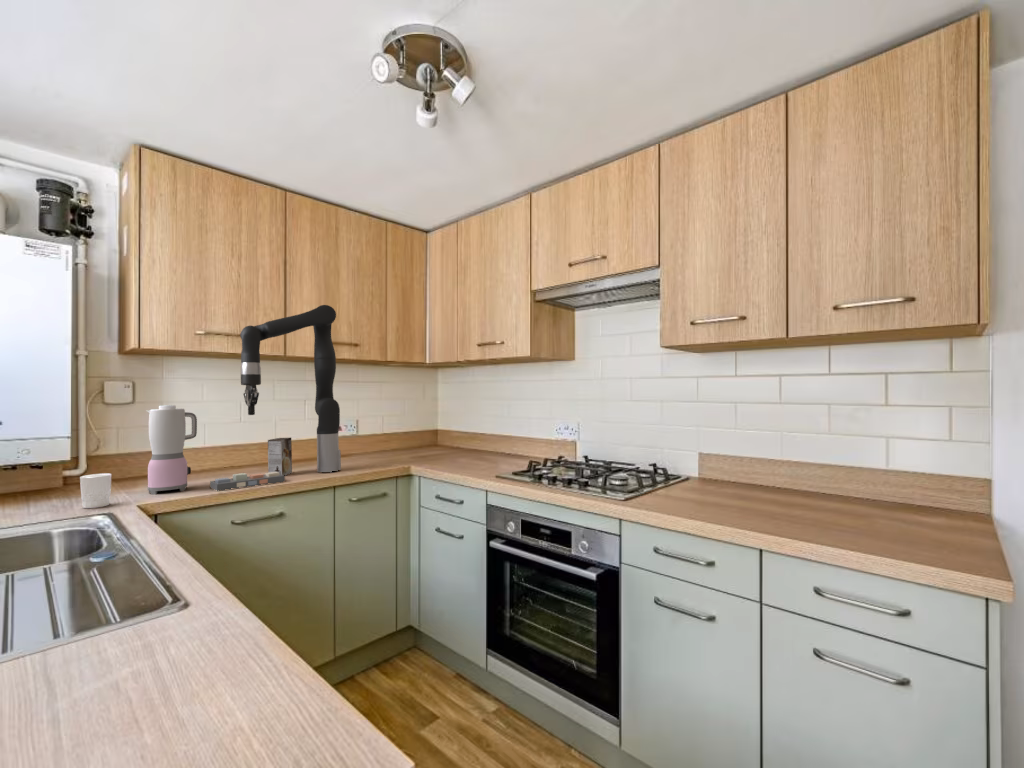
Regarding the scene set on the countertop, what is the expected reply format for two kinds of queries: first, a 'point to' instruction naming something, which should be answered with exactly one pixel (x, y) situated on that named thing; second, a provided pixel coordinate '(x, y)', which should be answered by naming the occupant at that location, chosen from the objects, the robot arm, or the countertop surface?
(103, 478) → the white cup
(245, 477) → the sage key
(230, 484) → the keypad
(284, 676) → the countertop surface
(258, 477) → the terracotta key
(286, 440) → the coffee box
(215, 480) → the slate key
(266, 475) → the sand key
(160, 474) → the blender
